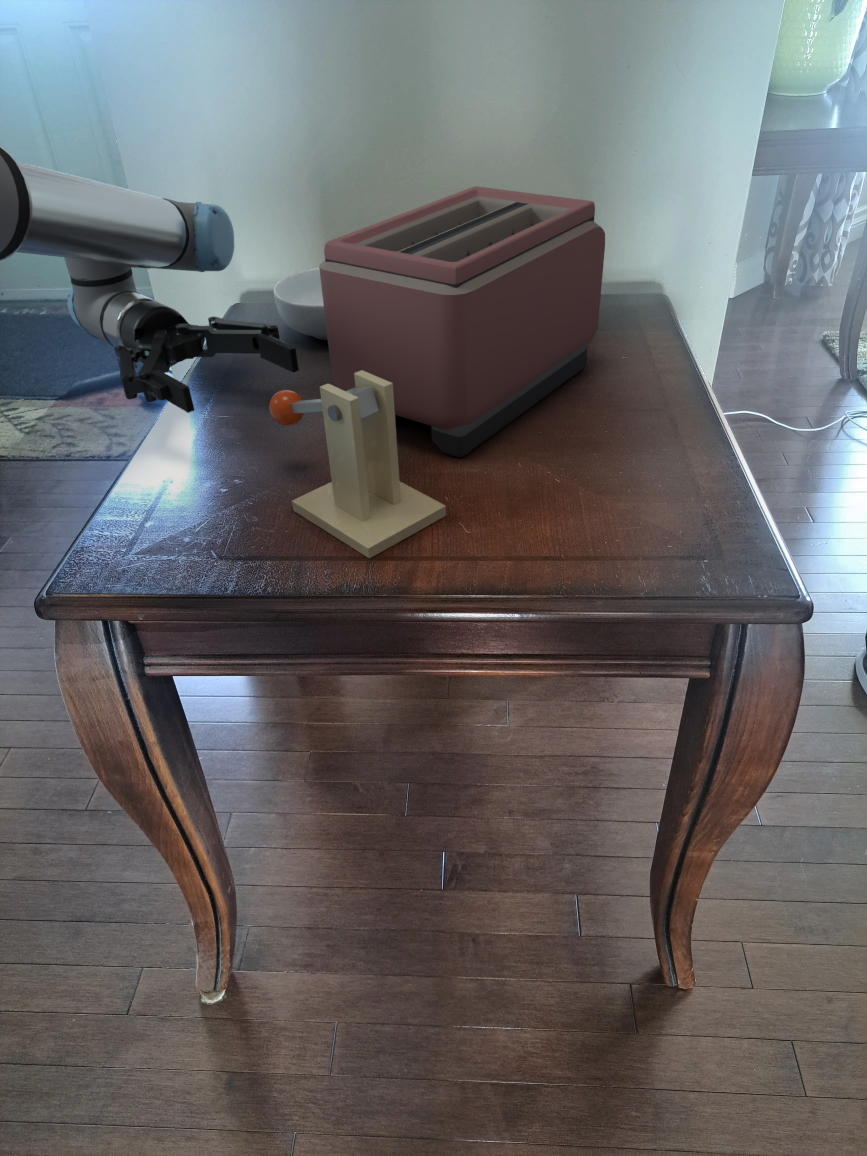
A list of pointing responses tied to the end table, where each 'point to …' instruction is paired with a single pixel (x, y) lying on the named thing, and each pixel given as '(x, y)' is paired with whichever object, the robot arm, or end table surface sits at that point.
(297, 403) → the lever
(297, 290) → the cereal bowl
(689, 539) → the end table surface
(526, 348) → the toaster
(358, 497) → the bracket
